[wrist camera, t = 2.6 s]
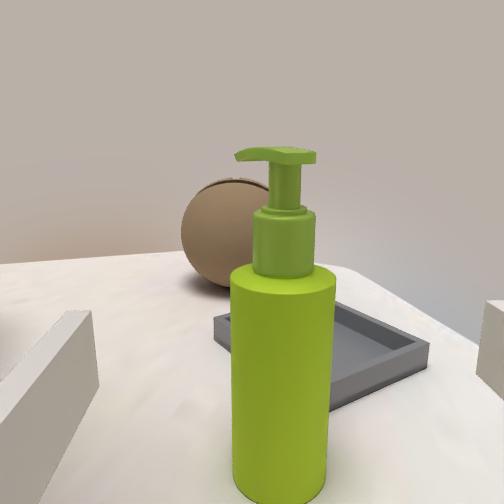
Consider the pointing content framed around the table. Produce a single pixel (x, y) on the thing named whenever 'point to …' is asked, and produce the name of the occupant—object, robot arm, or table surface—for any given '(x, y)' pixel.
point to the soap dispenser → (281, 344)
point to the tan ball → (222, 227)
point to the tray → (358, 354)
